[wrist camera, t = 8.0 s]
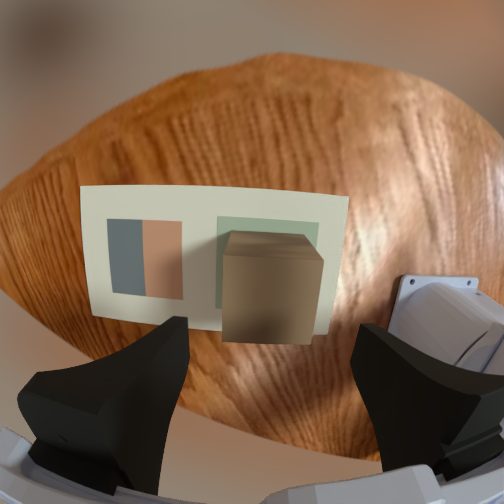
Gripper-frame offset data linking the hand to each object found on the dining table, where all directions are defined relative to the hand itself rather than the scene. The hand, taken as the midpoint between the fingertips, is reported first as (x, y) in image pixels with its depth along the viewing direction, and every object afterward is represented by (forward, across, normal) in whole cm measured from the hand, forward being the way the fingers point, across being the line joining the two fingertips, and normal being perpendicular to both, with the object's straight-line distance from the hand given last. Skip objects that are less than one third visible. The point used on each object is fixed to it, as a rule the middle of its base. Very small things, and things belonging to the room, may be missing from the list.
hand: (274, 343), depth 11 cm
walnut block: (+10, 0, 0) cm, 10 cm away
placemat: (+10, +4, 0) cm, 11 cm away
